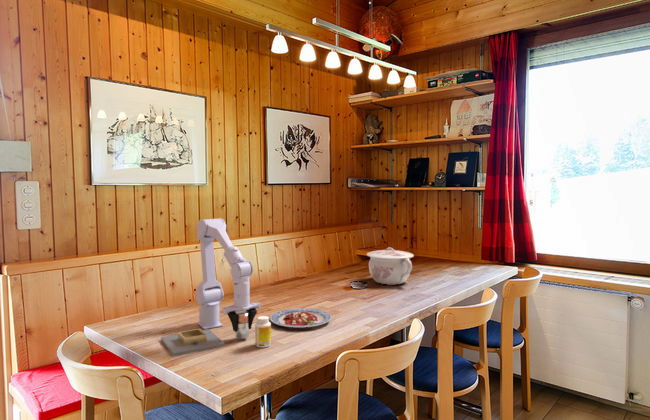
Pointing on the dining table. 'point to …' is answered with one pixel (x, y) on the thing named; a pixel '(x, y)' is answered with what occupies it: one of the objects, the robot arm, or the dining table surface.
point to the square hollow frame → (192, 337)
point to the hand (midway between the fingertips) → (242, 329)
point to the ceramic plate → (300, 317)
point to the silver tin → (242, 324)
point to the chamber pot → (390, 266)
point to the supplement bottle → (263, 332)
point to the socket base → (179, 348)
